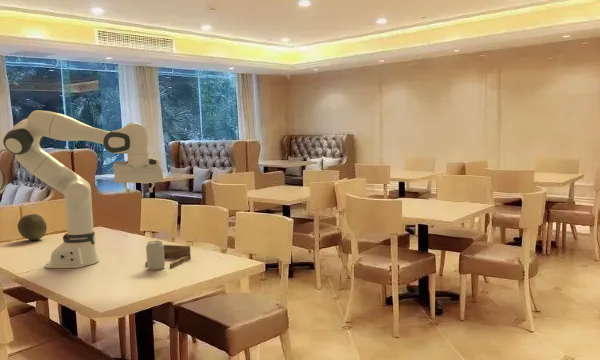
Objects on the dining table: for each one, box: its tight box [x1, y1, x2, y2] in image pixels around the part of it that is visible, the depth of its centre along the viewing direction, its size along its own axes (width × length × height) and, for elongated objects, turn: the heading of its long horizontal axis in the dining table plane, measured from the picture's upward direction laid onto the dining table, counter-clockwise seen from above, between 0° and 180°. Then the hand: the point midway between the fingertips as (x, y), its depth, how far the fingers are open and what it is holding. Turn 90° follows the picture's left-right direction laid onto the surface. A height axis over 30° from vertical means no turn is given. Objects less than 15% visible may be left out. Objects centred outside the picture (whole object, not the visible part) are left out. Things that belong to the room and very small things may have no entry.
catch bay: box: [144, 244, 192, 269], centre depth 234 cm, size 17×13×6 cm
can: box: [145, 240, 166, 271], centre depth 223 cm, size 8×8×12 cm
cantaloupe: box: [17, 213, 48, 241], centre depth 288 cm, size 14×14×15 cm
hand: (139, 192), depth 220 cm, fingers open, 8 cm apart
